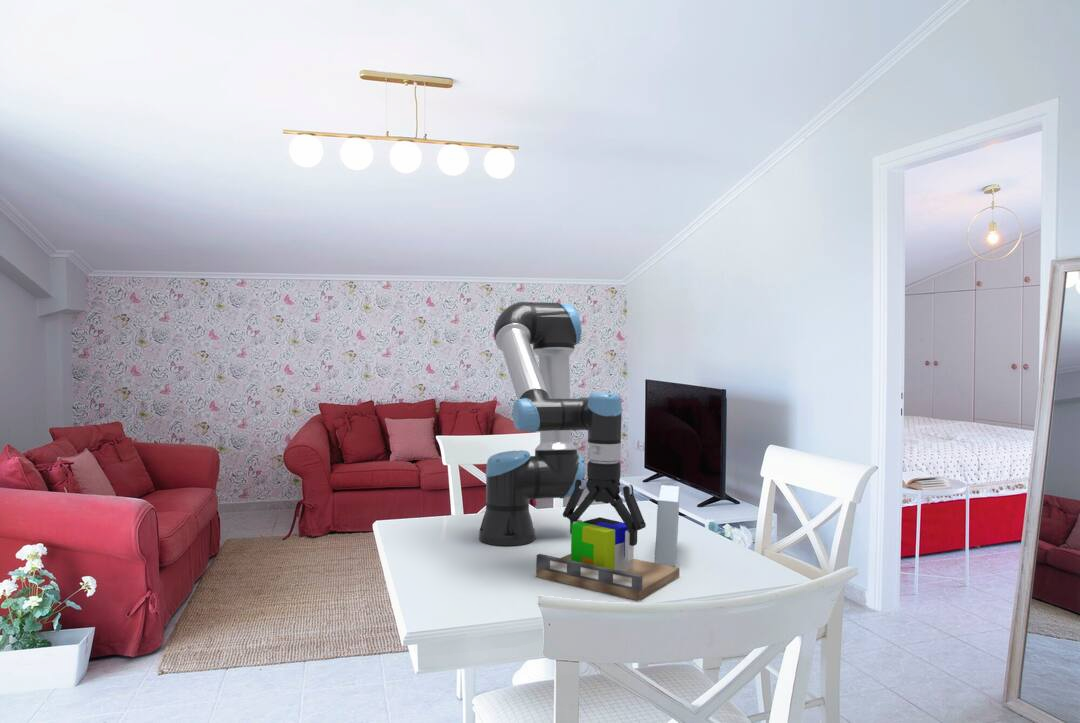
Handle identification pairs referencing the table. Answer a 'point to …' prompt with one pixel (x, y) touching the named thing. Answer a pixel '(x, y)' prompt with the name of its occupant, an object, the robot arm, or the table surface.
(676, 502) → the skincare box
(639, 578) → the brown piece
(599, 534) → the puzzle toy
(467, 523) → the table surface
